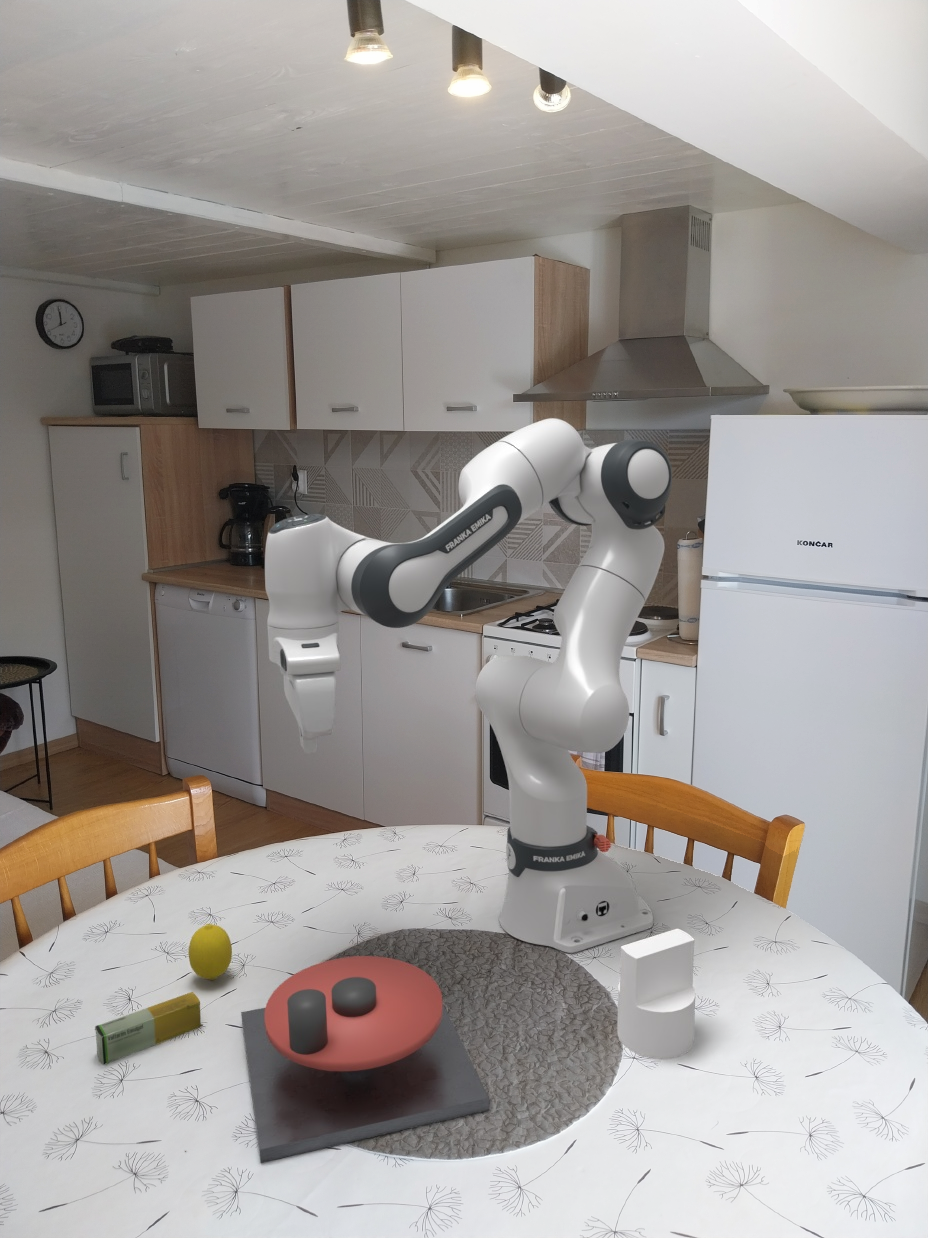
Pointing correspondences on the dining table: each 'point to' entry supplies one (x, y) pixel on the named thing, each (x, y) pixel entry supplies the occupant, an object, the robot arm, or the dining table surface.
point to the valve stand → (355, 1093)
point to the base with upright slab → (657, 995)
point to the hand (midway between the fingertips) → (309, 749)
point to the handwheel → (353, 1013)
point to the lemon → (210, 951)
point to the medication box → (147, 1027)
